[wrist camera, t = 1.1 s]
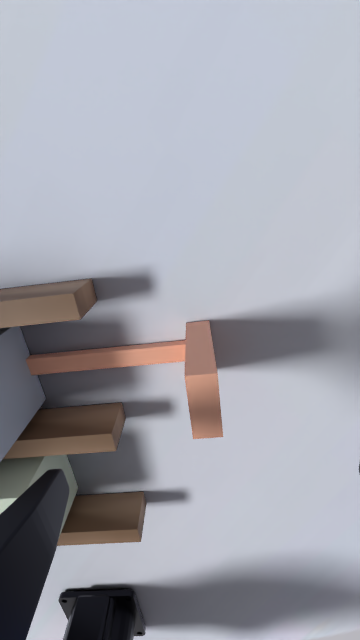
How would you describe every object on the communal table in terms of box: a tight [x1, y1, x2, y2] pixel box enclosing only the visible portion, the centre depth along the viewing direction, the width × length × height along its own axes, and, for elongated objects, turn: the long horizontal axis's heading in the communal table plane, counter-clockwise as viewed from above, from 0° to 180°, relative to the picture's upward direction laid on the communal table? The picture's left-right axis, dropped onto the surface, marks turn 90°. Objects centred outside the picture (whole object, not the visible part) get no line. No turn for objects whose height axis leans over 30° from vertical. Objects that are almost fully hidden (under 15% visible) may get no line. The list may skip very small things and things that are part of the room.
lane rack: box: [0, 278, 146, 546], centre depth 15 cm, size 16×11×6 cm
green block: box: [0, 455, 78, 537], centre depth 18 cm, size 5×5×4 cm
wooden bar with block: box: [0, 321, 223, 462], centre depth 14 cm, size 5×15×5 cm, turn 98°
